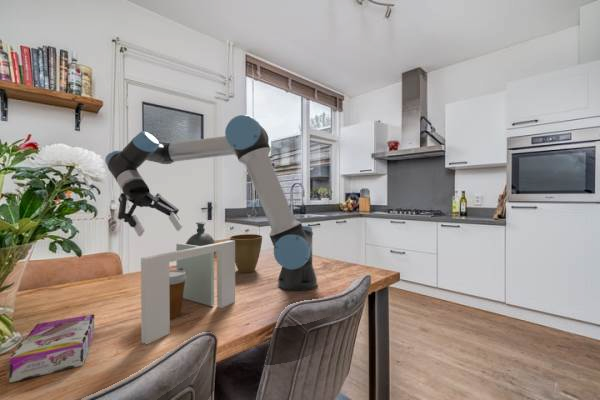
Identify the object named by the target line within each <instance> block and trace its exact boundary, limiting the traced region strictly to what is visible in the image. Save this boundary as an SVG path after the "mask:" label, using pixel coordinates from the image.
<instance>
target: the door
mask: <svg viewBox="0 0 600 400" xmlns="http://www.w3.org/2000/svg"><path fill="white" fill-rule="evenodd" d="M194 247H200V246H196V245H188V244H186V243H180V242H179V243H176V250H175V251H179V250H184V249H189V248H194ZM176 270H182V271H185V274H186V276H187V278H186V280H185V285H184V292H183V299H184V300H188V301H191V302H195V303H198V304H202V305H205V306H209V307H213V306H215V257H214V252H211V253H207V254H203V255H198V256H194V257H190V258H186V259H181V260H177V261H176Z"/></svg>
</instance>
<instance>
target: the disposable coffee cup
mask: <svg viewBox="0 0 600 400" xmlns="http://www.w3.org/2000/svg"><path fill="white" fill-rule="evenodd" d="M186 278H187V276H186V274H185V271H182V270H177V269H169V294H170V319H175V318H176V317H178V316H180V315H181V311H182V305H183V304H182V303H183V299H184V298H183V292H184V285H185V280H186Z"/></svg>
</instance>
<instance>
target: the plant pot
mask: <svg viewBox="0 0 600 400" xmlns="http://www.w3.org/2000/svg"><path fill="white" fill-rule="evenodd" d="M230 240H232V241H235V267H236V268H237V271H238V273H243V274H247V273H248V274H249V273H253V272H255V271H256V270H255V269H256V267H257V265H258V261H259V259H260V255H261V254H260V253H261V248H262V243H263V235H261V234H255V233H254V234H253V233H251V234H249V233H244V234H237V235H232V236H229V241H230Z"/></svg>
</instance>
